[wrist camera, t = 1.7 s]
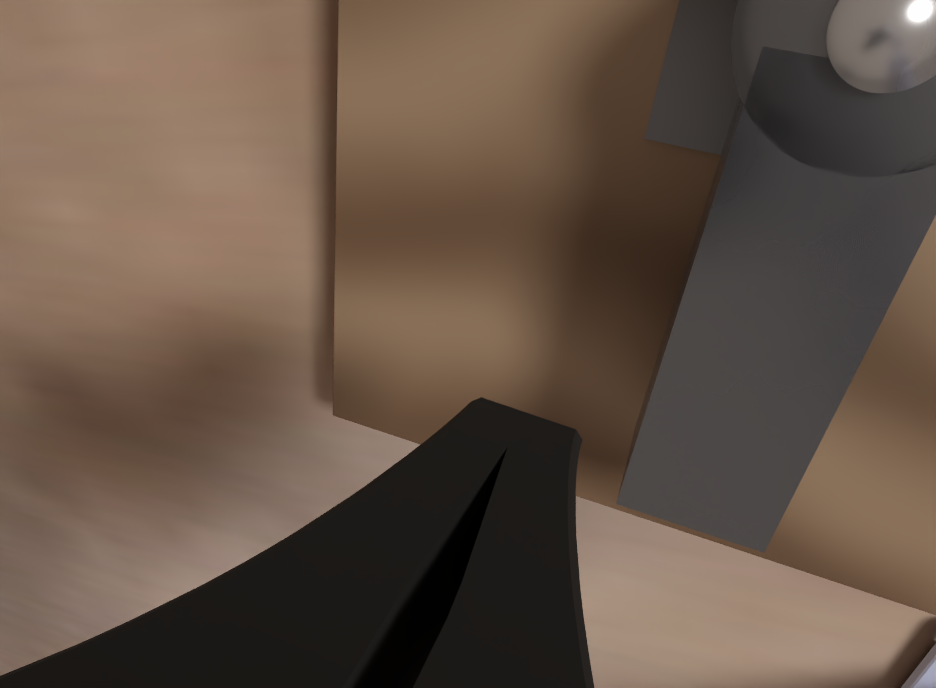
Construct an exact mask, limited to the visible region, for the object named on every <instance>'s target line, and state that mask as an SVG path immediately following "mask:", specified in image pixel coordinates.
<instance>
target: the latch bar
mask: <svg viewBox="0 0 936 688" xmlns="http://www.w3.org/2000/svg"><path fill="white" fill-rule="evenodd" d="M731 60H732V67H733V74H734V80H735V83H736V86H737V89H738V93H739V99H738V103H737V106H736V109H735V112H734V115H733V118H732V122H731V125H730V128H729V131H728V134H727V137H726V141H725V144H724V147H723V150H722V153H721V156H720V160H719V163H718V166H717V169H716V172H715V175H714V179H713V182H712V185H711V188H710V191H709V194H708V198H707V201H706V204H705V207H704V210H703V213H702V217H701V220H700V223H699V226H698V229H697V232H696V236H695V239H694V242H693V245H692V248H691V251H690V255H689V258H688V261H687V264H686V267H685V270H684V274H683V277H682V280H681V283H680V286H679V290H678V293H677V296H676V299H675V302H674V305H673V309H672V312H671V315H670V318H669V321H668V324H667V328H666V331H665V334H664V337H663V340H662V343H661V347H660V350H659V353H658V356H657V359H656V362H655V366H654V369H653V372H652V375H651V378H650V381H649V385H648V388H647V391H646V394H645V397H644V400H643V404H642V407H641V410H640V413H639V416H638V419H637V423H636V426H635V430H634V434H633V438H632V442H631V446H630V450H629V454H628V458H627V462H626V466H625V470H624V474H623V478H622V482H621V486H620V490H619V494H618V498H617V502H616V504H618V505H621V506H624V507H627V508H630V509H633V510H636V511H639V512H642V513H645V514H648V515H651V516H654V517H657V518H660V519H663V520H666V521H669V522H672V523H675V524H678V525H681V526H684V527H687V528H690V529H694V530H697V531H700V532H703V533H706V534H709V535H712V536H715V537H718V538H721V539H724V540H727V541H730V542H733V543H736V544H739V545H742V546H745V547H748V548H751V549H754V550H757V551H760V552H763V553H764V552H765V550H766V548H767V547H768V545H769V543H770V541H771V539H772V537H773V535H774V533H775V531H776V529H777V527H778V525H779V523H780V521H781V519H782V517H783V515H784V513H785V511H786V509H787V507H788V505H789V503H790V501H791V499H792V497H793V495H794V493H795V491H796V489H797V487H798V485H799V483H800V482H801V480H802V478H803V476H804V474H805V472H806V470H807V468H808V466H809V464H810V462H811V460H812V458H813V456H814V454H815V452H816V450H817V448H818V446H819V444H820V442H821V440H822V438H823V436H824V434H825V432H826V430H827V428H828V426H829V424H830V422H831V420H832V419H833V417H834V415H835V413H836V411H837V409H838V407H839V405H840V403H841V401H842V399H843V397H844V395H845V393H846V391H847V389H848V387H849V385H850V383H851V381H852V379H853V377H854V375H855V373H856V371H857V369H858V367H859V365H860V363H861V361H862V359H863V357H864V356H865V354H866V352H867V350H868V348H869V346H870V344H871V342H872V340H873V338H874V336H875V334H876V332H877V330H878V328H879V326H880V324H881V322H882V320H883V318H884V316H885V314H886V312H887V310H888V308H889V306H890V304H891V302H892V300H893V298H894V296H895V294H896V293H897V291H898V289H899V287H900V285H901V283H902V281H903V279H904V277H905V275H906V273H907V271H908V269H909V267H910V265H911V263H912V261H913V259H914V257H915V255H916V253H917V251H918V249H919V247H920V245H921V243H922V241H923V239H924V237H925V235H926V233H927V231H928V230H929V228H930V226H931V224H932V222H933V220H934V218H935V216H936V0H738V3H737V7H736V11H735V16H734V20H733V28H732V37H731Z"/></svg>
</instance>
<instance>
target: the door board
mask: <svg viewBox="0 0 936 688" xmlns="http://www.w3.org/2000/svg"><path fill="white" fill-rule="evenodd" d="M737 3H738V0H339V9H338V80H337V151H336V222H335V294H334V365H333V415H334V416H337V417H340V418H343V419H346V420H349V421H352V422H355V423H358V424H361V425H364V426H367V427H370V428H373V429H376V430H379V431H382V432H385V433H388V434H391V435H394V436H397V437H400V438H403V439H406V440H409V441H412V442H415V443H418V444H422V443H423V442H425V441H426V440H427V439H428V438H430V437H431V436H432V435H433V434H434V433H436V432H437V431H438V430H439V429H441V428H442V427H443V426H444V425H445V424H446V423H448V422H449V421H450V420H451V419H452V418H453V417H455V416H456V415H457V414H458V413H459V412H460V411H461V410H462V409H464V408H465V407H466V406H467V405H468V404H469V403H470V402H471V401H473V400H476V399H478V398H480V397H482V398H485V399H488V400H491V401H494V402H497V403H500V404H503V405H506V406H509V407H512V408H515V409H518V410H520V411H523V412H526V413H529V414H532V415H535V416H538V417H541V418H544V419H547V420H550V421H553V422H556V423H559V424H562V425H565V426H568V427H571V428H574V429H576V430H577V432H578V433H579V435H580V437H581V438H582V443H581V447H580V451H579V458H578V464H577V475H576V496H578V497H581V498H584V499H587V500H590V501H593V502H596V503H599V504H602V505H605V506H608V507H611V508H614V509H617V510H620V511H623V512H626V513H629V514H632V515H635V516H638V517H641V518H644V519H647V520H650V521H653V522H656V523H659V524H662V525H665V526H669V527H672V528H675V529H678V530H681V531H684V532H687V533H690V534H693V535H696V536H699V537H702V538H705V539H708V540H711V541H714V542H717V543H720V544H723V545H726V546H729V547H732V548H735V549H738V550H741V551H744V552H747V553H750V554H753V555H756V556H759V557H762V558H765V559H768V560H771V561H774V562H777V563H780V564H783V565H786V566H789V567H792V568H795V569H798V570H801V571H804V572H807V573H810V574H813V575H816V576H819V577H822V578H825V579H828V580H831V581H834V582H837V583H841V584H844V585H847V586H850V587H853V588H856V589H859V590H862V591H865V592H868V593H871V594H874V595H877V596H880V597H883V598H886V599H889V600H892V601H895V602H898V603H901V604H904V605H907V606H910V607H913V608H916V609H919V610H922V611H925V612H928V613H931V614H934V615H936V216H935V218H934V220H933V222H932V224H931V226H930V228H929V230H928V231H927V233H926V235H925V237H924V239H923V241H922V243H921V245H920V247H919V249H918V251H917V253H916V255H915V257H914V259H913V261H912V263H911V265H910V267H909V269H908V271H907V273H906V275H905V277H904V279H903V281H902V283H901V285H900V287H899V289H898V291H897V293H896V294H895V296H894V298H893V300H892V302H891V304H890V306H889V308H888V310H887V312H886V314H885V316H884V318H883V320H882V322H881V324H880V326H879V328H878V330H877V332H876V334H875V336H874V338H873V340H872V342H871V344H870V346H869V348H868V350H867V352H866V354H865V356H864V357H863V359H862V361H861V363H860V365H859V367H858V369H857V371H856V373H855V375H854V377H853V379H852V381H851V383H850V385H849V387H848V389H847V391H846V393H845V395H844V397H843V399H842V401H841V403H840V405H839V407H838V409H837V411H836V413H835V415H834V417H833V419H832V420H831V422H830V424H829V426H828V428H827V430H826V432H825V434H824V436H823V438H822V440H821V442H820V444H819V446H818V448H817V450H816V452H815V454H814V456H813V458H812V460H811V462H810V464H809V466H808V468H807V470H806V472H805V474H804V476H803V478H802V480H801V482H800V483H799V485H798V487H797V489H796V491H795V493H794V495H793V497H792V499H791V501H790V503H789V505H788V507H787V509H786V511H785V513H784V515H783V517H782V519H781V521H780V523H779V525H778V527H777V529H776V531H775V533H774V535H773V537H772V539H771V541H770V543H769V545H768V547H767V548H766V550H765V552H764V553H763V552H760V551H757V550H754V549H751V548H748V547H745V546H742V545H739V544H736V543H733V542H730V541H727V540H724V539H721V538H718V537H715V536H712V535H709V534H706V533H703V532H700V531H697V530H694V529H690V528H687V527H684V526H681V525H678V524H675V523H672V522H669V521H666V520H663V519H660V518H657V517H654V516H651V515H648V514H645V513H642V512H639V511H636V510H633V509H630V508H627V507H624V506H621V505H618V504H616V502H617V498H618V494H619V490H620V486H621V482H622V478H623V474H624V470H625V466H626V462H627V458H628V454H629V450H630V446H631V442H632V438H633V434H634V430H635V426H636V423H637V419H638V416H639V413H640V410H641V407H642V404H643V400H644V397H645V394H646V391H647V388H648V385H649V381H650V378H651V375H652V372H653V369H654V366H655V362H656V359H657V356H658V353H659V350H660V347H661V343H662V340H663V337H664V334H665V331H666V328H667V324H668V321H669V318H670V315H671V312H672V309H673V305H674V302H675V299H676V296H677V293H678V290H679V286H680V283H681V280H682V277H683V274H684V270H685V267H686V264H687V261H688V258H689V255H690V251H691V248H692V245H693V242H694V239H695V236H696V232H697V229H698V226H699V223H700V220H701V217H702V213H703V210H704V207H705V204H706V201H707V198H708V194H709V191H710V188H711V185H712V182H713V179H714V175H715V172H716V169H717V166H718V163H719V160H720V156H721V153H722V150H723V147H724V144H725V141H726V137H727V134H728V131H729V128H730V125H731V122H732V118H733V115H734V112H735V109H736V106H737V103H738V99H739V93H738V89H737V86H736V83H735V80H734V74H733V67H732V60H731V37H732V28H733V20H734V16H735V11H736V7H737Z"/></svg>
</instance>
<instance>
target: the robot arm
mask: <svg viewBox="0 0 936 688" xmlns="http://www.w3.org/2000/svg"><path fill="white" fill-rule="evenodd" d="M581 443H582V438H581V437H580V435H579V433H578V432H577V430H576V429H574V428H571V427H568V426H565V425H562V424H559V423H556V422H553V421H550V420H547V419H544V418H541V417H538V416H535V415H532V414H529V413H526V412H523V411H520V410H518V409H515V408H512V407H509V406H506V405H503V404H500V403H497V402H494V401H491V400H488V399H485V398H482V397H480V398H478V399H476V400H473V401H471V402H470V403H469V404H468V405H467V406H466V407H465V408H464V409H462V410H461V411H460V412H459V413H458V414H457V415H456V416H455V417H453V418H452V419H451V420H450V421H449V422H448V423H446V424H445V425H444V426H443V427H442V428H441V429H439V430H438V431H437V432H436V433H434V434H433V435H432V436H431V437H430V438H428V439H427V440H426V441H425V442H423V443H422V444H421V445H420V446H418V447H417V448H416V449H414V450H413V451H412V452H411V453H409V454H408V455H407V456H406V457H404V458H403V459H401V460H400V461H399V462H397V463H396V464H395V465H393V466H392V467H391V468H389V469H388V470H386V471H385V472H384V473H382V474H381V475H380V476H378V477H377V478H376V479H374V480H373V481H372V482H370V483H369V484H367V485H366V486H365V487H363V488H362V489H360V490H359V491H358V492H356V493H355V494H353V495H352V496H350V497H349V498H347V499H346V500H344V501H343V502H341V503H340V504H338V505H337V506H335V507H333V508H332V509H330V510H329V511H327V512H326V513H324V514H323V515H321V516H320V517H318V518H317V519H315V520H313V521H312V522H310V523H309V524H307V525H306V526H304V527H303V528H301V529H300V530H298V531H297V532H295V533H293V534H292V535H290V536H288V537H287V538H285V539H283V540H282V541H280V542H278V543H277V544H275V545H273V546H272V547H270V548H268V549H267V550H265V551H263V552H261V553H260V554H258V555H256V556H254V557H253V558H251V559H249V560H247V561H246V562H244V563H242V564H240V565H238V566H237V567H235V568H233V569H231V570H229V571H227V572H225V573H224V574H222V575H220V576H218V577H216V578H214V579H213V580H211V581H209V582H207V583H205V584H203V585H201V586H199V587H197V588H195V589H193V590H191V591H189V592H187V593H185V594H183V595H181V596H179V597H177V598H175V599H173V600H171V601H169V602H167V603H165V604H163V605H161V606H159V607H157V608H155V609H153V610H151V611H149V612H147V613H145V614H143V615H140V616H138V617H136V618H134V619H132V620H130V621H128V622H126V623H124V624H122V625H119V626H117V627H115V628H113V629H111V630H109V631H106V632H104V633H102V634H100V635H98V636H95V637H93V638H91V639H89V640H86V641H84V642H82V643H80V644H77V645H75V646H72V647H70V648H68V649H65V650H63V651H60V652H58V653H55V654H53V655H50V656H48V657H46V658H43V659H41V660H38V661H36V662H33V663H31V664H28V665H26V666H24V667H21V668H19V669H16V670H14V671H11V672H9V673H6V674H4V675H1V676H0V688H594V683H593V677H592V671H591V665H590V659H589V652H588V645H587V638H586V631H585V624H584V617H583V609H582V600H581V591H580V580H579V567H578V554H577V540H576V475H577V464H578V458H579V451H580V447H581ZM901 688H936V643H935V645H934V646H933V647H932V649H931V650H930V651H929V652H928V654H927V655H926V656H925V658H924V659H923V660H922V661H921V663H920V664H919V665H918V666H917V668H916V669H915V670H914V672H913V673H912V674H911V675H910V677H909V678H908V679H907V680H906V682H905V683H904V684H903V686H902V687H901Z"/></svg>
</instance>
